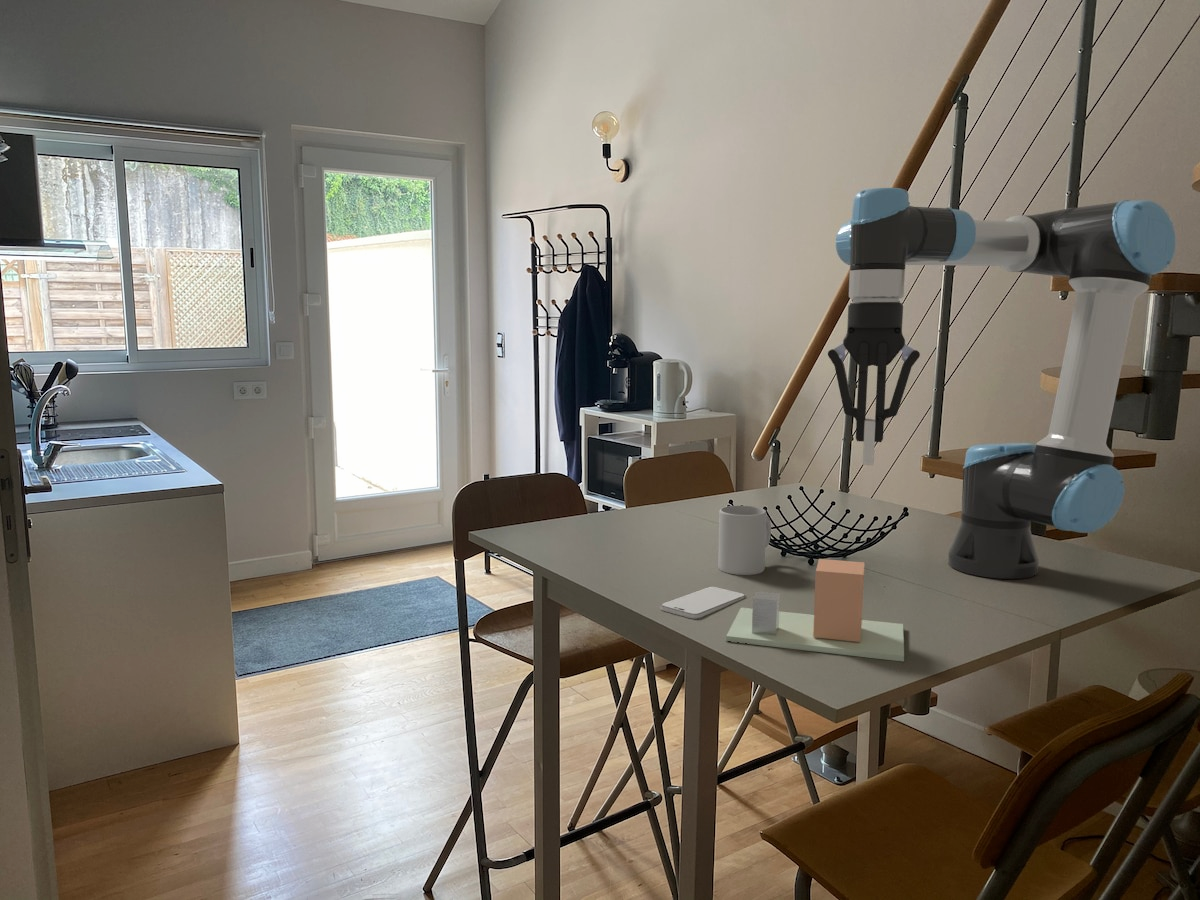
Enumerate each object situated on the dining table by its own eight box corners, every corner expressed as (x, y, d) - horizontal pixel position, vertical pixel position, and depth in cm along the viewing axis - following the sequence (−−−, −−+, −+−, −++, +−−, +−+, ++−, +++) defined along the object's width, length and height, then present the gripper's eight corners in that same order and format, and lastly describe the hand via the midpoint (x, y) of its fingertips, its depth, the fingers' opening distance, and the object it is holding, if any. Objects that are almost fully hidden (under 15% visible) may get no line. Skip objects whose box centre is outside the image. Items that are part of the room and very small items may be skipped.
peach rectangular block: (861, 626, 129) (864, 562, 127) (860, 642, 123) (863, 574, 121) (816, 622, 131) (819, 558, 129) (813, 637, 125) (815, 570, 123)
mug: (744, 578, 156) (745, 517, 154) (708, 568, 162) (709, 509, 161) (786, 565, 164) (788, 508, 162) (750, 556, 170) (751, 500, 168)
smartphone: (747, 594, 146) (695, 615, 135) (747, 601, 146) (695, 622, 135) (710, 585, 151) (657, 604, 139) (710, 592, 151) (657, 611, 139)
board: (902, 629, 131) (903, 624, 130) (903, 661, 118) (904, 655, 118) (740, 612, 138) (740, 607, 138) (726, 641, 126) (726, 635, 126)
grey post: (778, 632, 129) (779, 593, 128) (775, 641, 126) (776, 600, 125) (755, 630, 130) (756, 591, 129) (751, 638, 127) (752, 598, 126)
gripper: (923, 301, 128) (914, 462, 131) (830, 301, 132) (824, 457, 135) (925, 300, 121) (915, 470, 124) (827, 301, 125) (820, 465, 128)
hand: (868, 463), depth 130 cm, fingers closed
